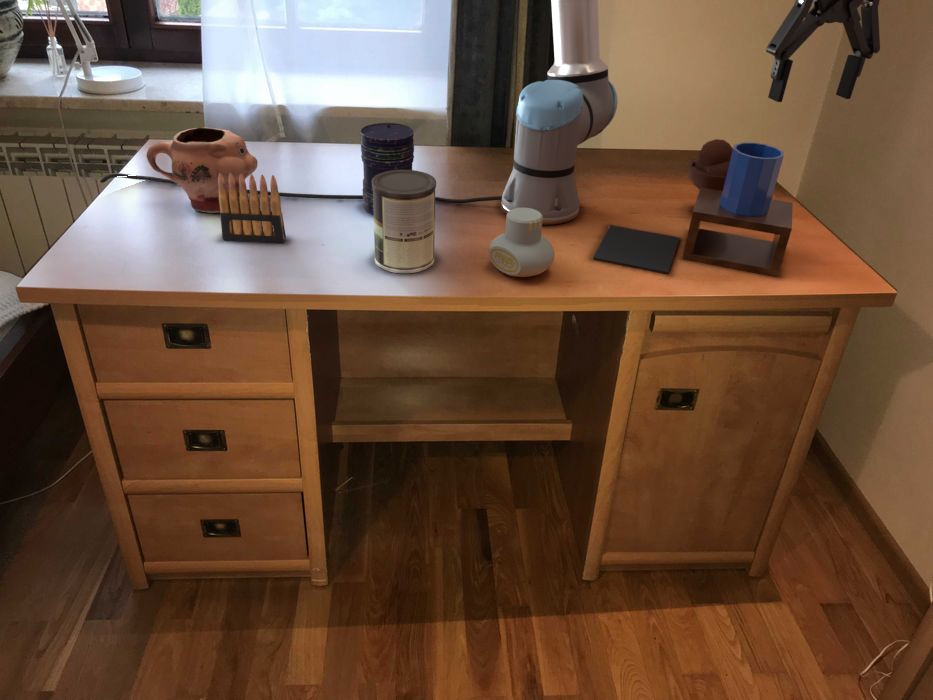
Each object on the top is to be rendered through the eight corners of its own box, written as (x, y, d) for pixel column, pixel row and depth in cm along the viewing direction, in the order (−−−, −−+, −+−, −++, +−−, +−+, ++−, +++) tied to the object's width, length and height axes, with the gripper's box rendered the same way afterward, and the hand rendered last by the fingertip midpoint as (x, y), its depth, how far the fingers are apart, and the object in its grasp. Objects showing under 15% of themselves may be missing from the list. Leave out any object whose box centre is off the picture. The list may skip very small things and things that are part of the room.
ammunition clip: (222, 240, 132) (212, 174, 126) (225, 235, 134) (216, 170, 127) (283, 243, 132) (277, 177, 126) (286, 238, 134) (279, 173, 127)
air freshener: (560, 273, 127) (567, 218, 121) (527, 289, 122) (533, 232, 116) (512, 251, 133) (517, 197, 128) (479, 265, 128) (482, 209, 123)
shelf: (682, 258, 133) (692, 211, 128) (690, 232, 143) (700, 187, 138) (777, 277, 129) (792, 228, 124) (779, 248, 139) (792, 202, 134)
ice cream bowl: (738, 227, 146) (757, 151, 138) (679, 220, 147) (695, 144, 139) (733, 206, 155) (751, 133, 146) (677, 200, 156) (692, 127, 148)
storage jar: (412, 218, 143) (412, 140, 135) (360, 216, 143) (357, 138, 134) (415, 198, 151) (415, 123, 143) (366, 196, 151) (363, 121, 143)
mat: (592, 259, 132) (593, 257, 132) (610, 226, 144) (610, 224, 143) (668, 274, 128) (668, 272, 128) (679, 239, 140) (679, 237, 140)
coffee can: (361, 260, 128) (358, 180, 120) (403, 241, 135) (402, 164, 127) (405, 280, 123) (405, 198, 115) (447, 259, 130) (449, 180, 122)
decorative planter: (146, 218, 138) (131, 143, 131) (162, 192, 148) (149, 122, 141) (258, 218, 140) (249, 144, 133) (266, 193, 150) (259, 123, 143)
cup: (718, 211, 129) (731, 153, 123) (722, 194, 135) (735, 139, 130) (767, 219, 127) (783, 161, 121) (768, 202, 133) (784, 146, 128)
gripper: (797, -42, 109) (758, 107, 121) (935, -40, 115) (886, 101, 127) (766, -48, 115) (732, 94, 127) (898, -46, 121) (855, 89, 133)
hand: (809, 98), depth 127 cm, fingers open, 13 cm apart
